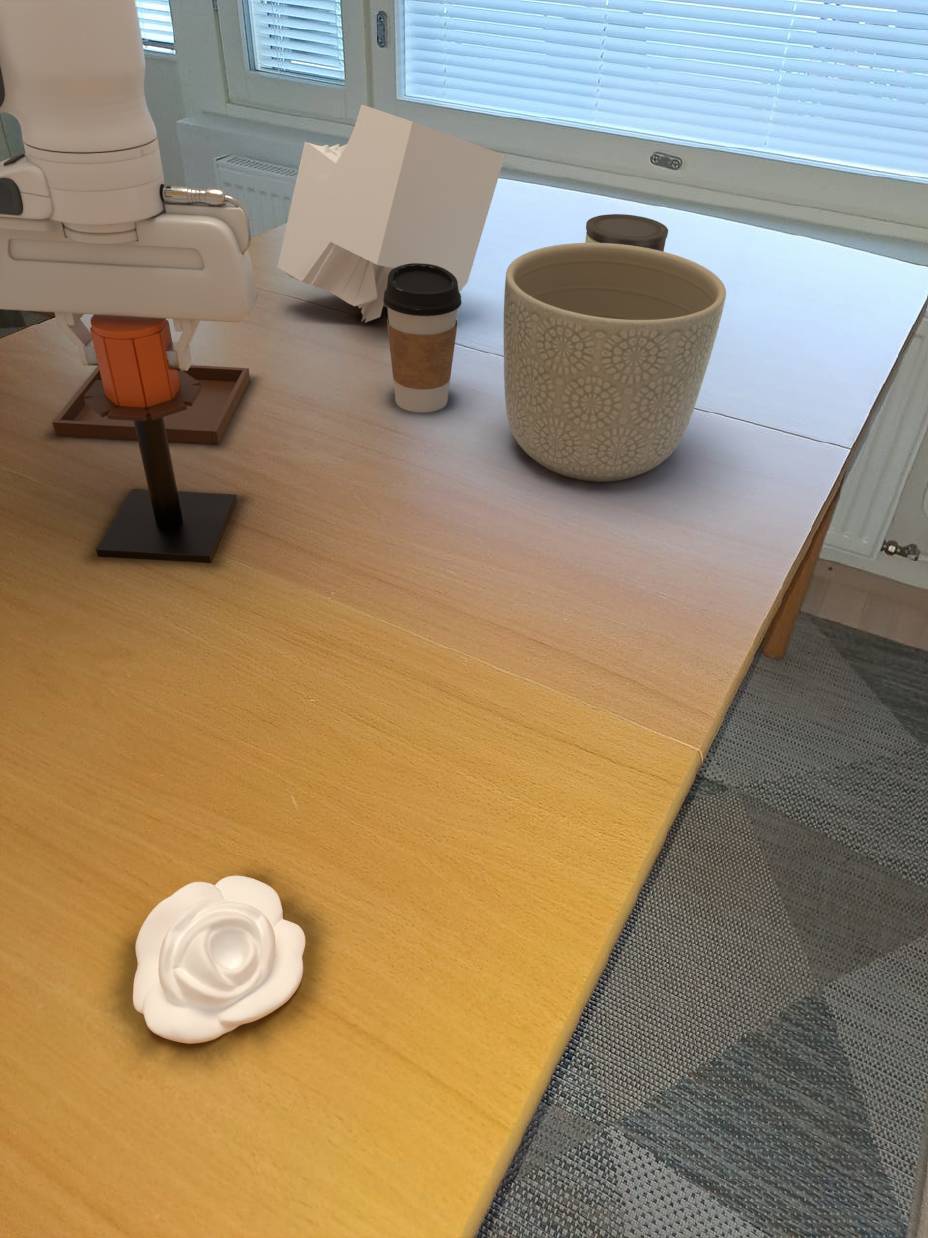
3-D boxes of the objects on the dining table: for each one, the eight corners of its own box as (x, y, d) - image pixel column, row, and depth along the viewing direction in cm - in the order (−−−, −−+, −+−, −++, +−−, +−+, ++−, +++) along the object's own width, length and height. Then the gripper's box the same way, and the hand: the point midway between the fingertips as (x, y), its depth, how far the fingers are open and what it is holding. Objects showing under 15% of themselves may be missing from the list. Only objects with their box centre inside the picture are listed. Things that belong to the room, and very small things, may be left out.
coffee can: (665, 338, 123) (685, 230, 114) (609, 355, 118) (626, 244, 109) (612, 313, 130) (628, 208, 120) (557, 328, 125) (569, 220, 116)
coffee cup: (442, 385, 110) (446, 258, 100) (468, 417, 104) (474, 286, 94) (375, 394, 108) (372, 265, 98) (398, 428, 102) (397, 294, 92)
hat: (71, 417, 72) (50, 337, 68) (109, 369, 79) (92, 293, 75) (182, 423, 72) (167, 343, 68) (210, 374, 79) (198, 299, 75)
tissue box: (267, 289, 124) (308, 86, 113) (358, 303, 135) (403, 120, 125) (356, 340, 113) (411, 121, 102) (447, 351, 124) (505, 155, 113)
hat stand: (99, 563, 81) (40, 347, 68) (135, 501, 88) (88, 297, 76) (212, 569, 81) (174, 355, 68) (238, 507, 88) (209, 303, 75)
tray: (57, 441, 96) (51, 422, 95) (106, 378, 108) (102, 359, 107) (219, 450, 96) (216, 431, 95) (251, 386, 108) (248, 367, 106)
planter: (454, 443, 99) (461, 267, 87) (587, 392, 110) (609, 229, 98) (592, 531, 88) (622, 341, 75) (726, 464, 98) (771, 289, 86)
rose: (165, 836, 54) (324, 864, 53) (177, 879, 57) (328, 907, 56) (82, 995, 46) (266, 1032, 45) (101, 1036, 49) (274, 1071, 48)
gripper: (255, 177, 67) (273, 355, 76) (-21, 162, 67) (29, 342, 76) (235, 203, 62) (256, 389, 71) (-62, 186, 63) (-4, 375, 71)
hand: (137, 365), depth 74 cm, fingers closed on hat, 5 cm apart
